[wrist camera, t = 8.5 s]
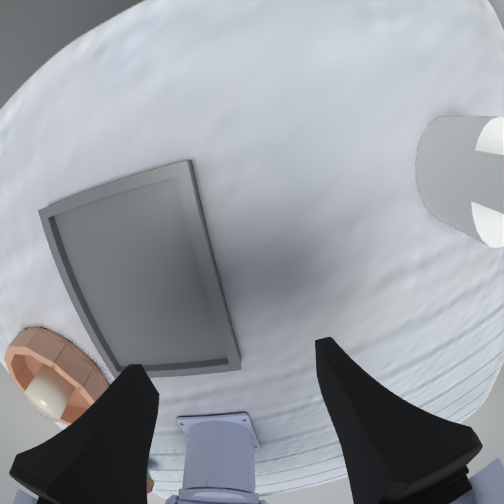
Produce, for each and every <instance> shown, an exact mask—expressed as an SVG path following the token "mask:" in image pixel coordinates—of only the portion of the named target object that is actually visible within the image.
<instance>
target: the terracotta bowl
mask: <svg viewBox="0 0 504 504" xmlns="http://www.w3.org/2000/svg"><path fill="white" fill-rule="evenodd" d="M4 359H5V362H6V365H7V367H8V370H9V373H10V375H11V377H12V379H13V380H14V381H15V383H16V384H17V385H18V387H19V388H20V389H21V390H22V392H23V393H24V392H25V390H26V389H27V387H28V386H29V384H30V383H31V381H32V379H33V378H34V376H35V375H36V373H37V372H38V370H39V369H40V367H41V366H42V364H43V363H44V364H46V365H48V366H50V367H52V368H53V369H55V370H56V371H57V372H58V373H59V374H60V375H61V376H63V377H64V378H65V379H66V380H67V381H69V382H70V383H71V384H72V385H74V386H75V390H74V392H73V393H72V395H71V397H70V399H69V401H68V403H67V405H66V408H65V410H64V412H63V414H62V416H61V418H60V420H59V421H60V422H62V423H64V424H66V425H68V426H69V425H71V424H72V423H73V422H74V421H75V420H77V419H78V418H79V417H80V416H81V415H82V414H83V413H84V412H85V411H86V410H87V409H88V408H89V407H90V406H91V405H92V404H93V403H94V402H95V401H96V400H97V399H98V398H99V397H100V396H101V395H102V394H103V393H104V392H105V390H106V389H107V388H108V387H109V386H110V385H109V383H108V381H107V379H106V378H105V376H104V374H103V373H102V372H101V370H100V369H99V368H98V367H97V365H96V364H95V363H94V362H93V361H92V360H91V359H90V358H89V357H88V356H87V355H86V354H85V353H84V352H83V351H81V350H80V349H79V348H78V347H77V346H75V345H74V344H73V343H71V342H70V341H68V340H67V339H65V338H64V337H62V336H60V335H59V334H57V333H55V332H53V331H50V330H48V329H45V328H41V327H29V328H27V329H25V330H24V331H21V332H20V333H19V334H18V336H17V337H16V338H15V339H14V340H13V341H12V343H11V344H10V345H9V346H8V349H7V351H6V354H5V357H4Z"/></svg>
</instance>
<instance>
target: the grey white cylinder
mask: <svg viewBox="0 0 504 504" xmlns="http://www.w3.org/2000/svg"><path fill="white" fill-rule="evenodd" d="M415 167H416V181H417V186H418V191H419V194H420V197H421V199H422V201H423V203H424V206H425V207H426V208H427V210H428V211H429V212H430V214H431V215H432V216H434V217H435V218H436V219H438V220H439V221H441V222H443V223H445V224H447V225H449V226H451V227H453V228H455V229H457V230H459V231H461V232H463V233H465V234H467V235H469V236H471V237H472V238H474V239H476V240H478V241H480V242H482V243H483V244H485V245H487V246H489V247H493V248H500V247H503V246H504V118H502V117H494V116H445V117H442V118H438V119H436V120H435V121H433V122H432V123H431V124H430V125H429V126H428V127H427V129H426V130H425V132H424V133H423V135H422V137H421V140H420V143H419V145H418V148H417V155H416V162H415Z"/></svg>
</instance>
